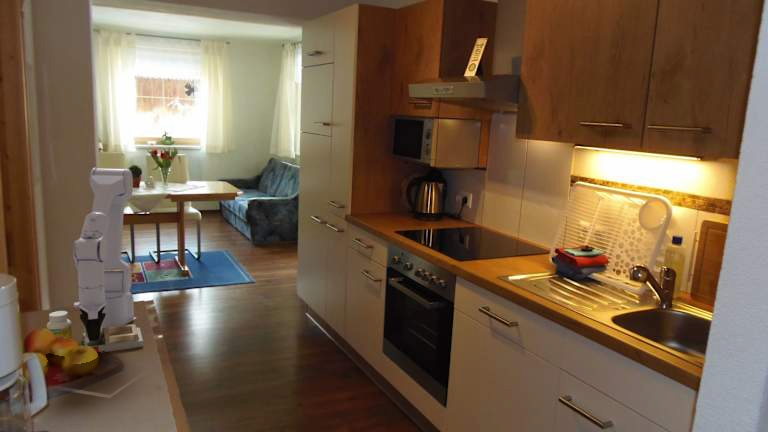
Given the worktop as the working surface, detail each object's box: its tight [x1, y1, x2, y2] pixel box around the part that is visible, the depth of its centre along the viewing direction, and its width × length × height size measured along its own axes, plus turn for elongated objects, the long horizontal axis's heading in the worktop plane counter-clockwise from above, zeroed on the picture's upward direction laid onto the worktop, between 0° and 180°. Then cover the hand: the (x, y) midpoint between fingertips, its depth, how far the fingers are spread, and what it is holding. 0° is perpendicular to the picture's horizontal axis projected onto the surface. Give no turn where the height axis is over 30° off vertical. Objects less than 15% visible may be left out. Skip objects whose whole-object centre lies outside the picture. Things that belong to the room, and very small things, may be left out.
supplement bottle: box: [46, 310, 73, 340], centre depth 139 cm, size 5×5×10 cm
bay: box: [82, 327, 144, 353], centre depth 144 cm, size 14×10×2 cm
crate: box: [103, 323, 138, 344], centre depth 145 cm, size 8×8×3 cm
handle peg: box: [84, 325, 103, 346], centre depth 142 cm, size 4×4×7 cm
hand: (93, 336), depth 142 cm, fingers closed on handle peg, 4 cm apart
